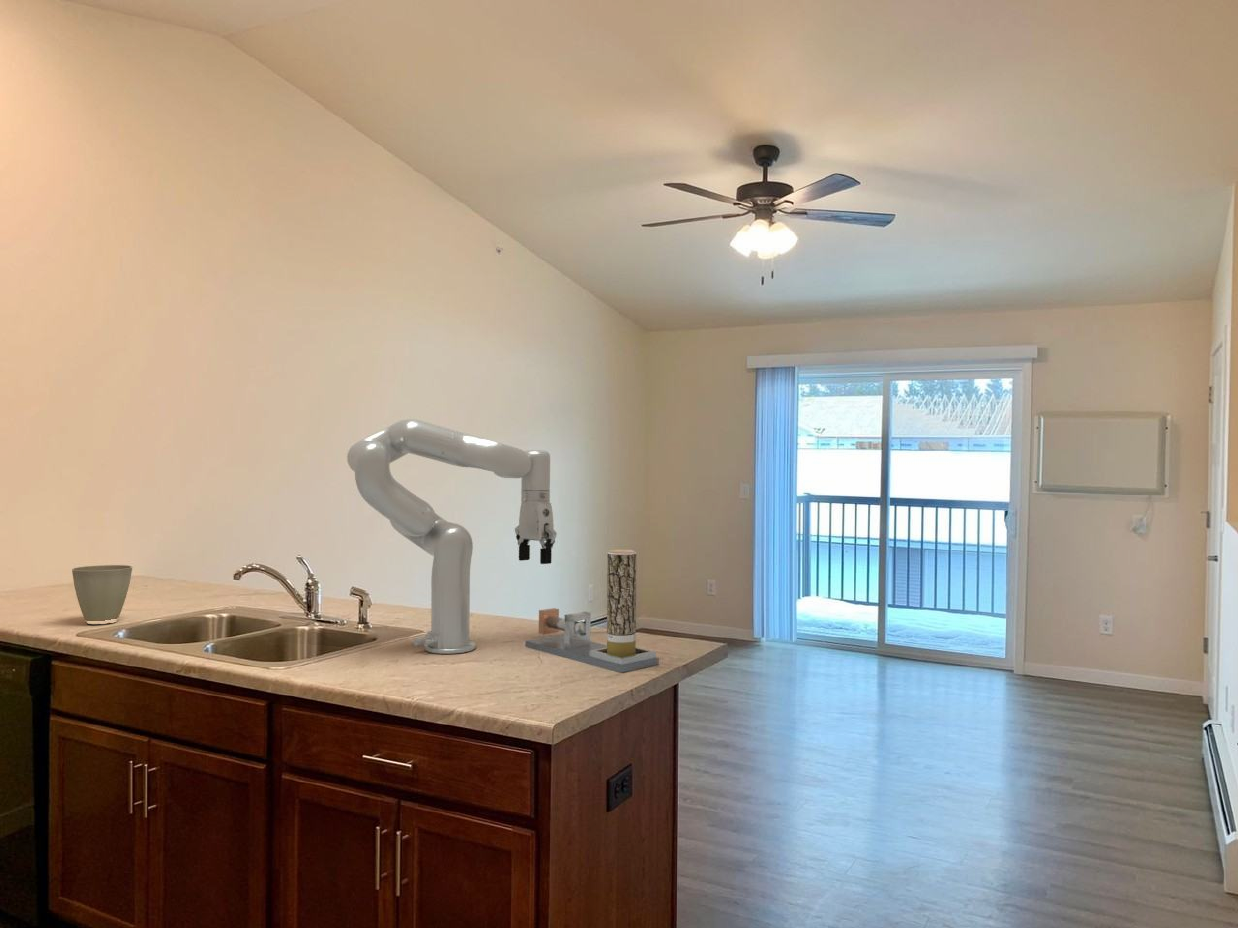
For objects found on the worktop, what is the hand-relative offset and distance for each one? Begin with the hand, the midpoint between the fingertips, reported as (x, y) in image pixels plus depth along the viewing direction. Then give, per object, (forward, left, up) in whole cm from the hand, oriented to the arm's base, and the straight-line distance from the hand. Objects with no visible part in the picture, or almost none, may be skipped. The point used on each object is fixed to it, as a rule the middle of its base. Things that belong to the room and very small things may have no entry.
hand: (534, 561), depth 226 cm
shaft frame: (0, -22, -21) cm, 30 cm away
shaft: (0, -12, -18) cm, 22 cm away
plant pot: (-79, +100, -21) cm, 129 cm away
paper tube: (0, -34, -20) cm, 39 cm away
